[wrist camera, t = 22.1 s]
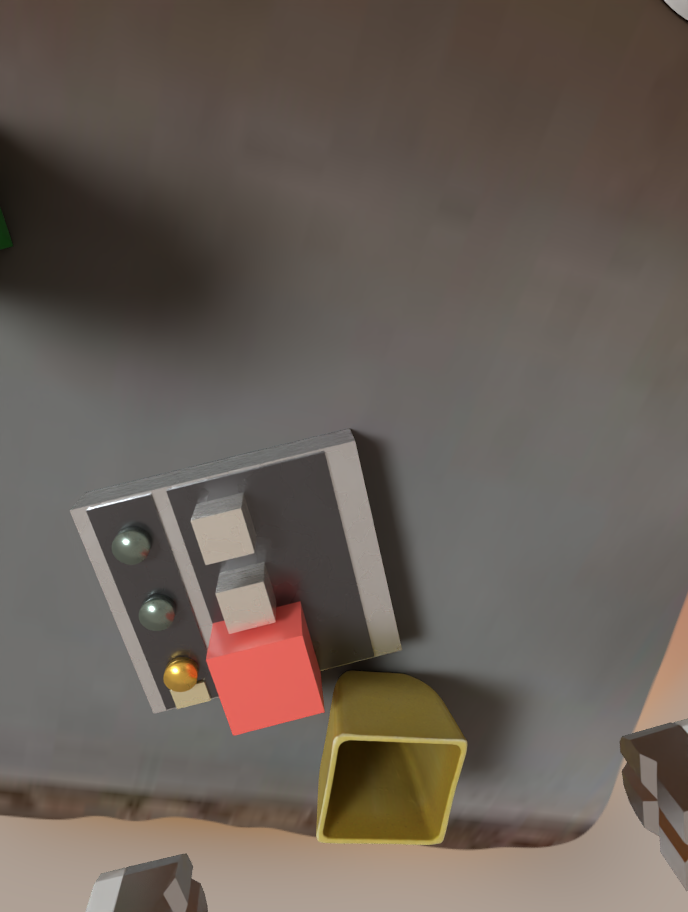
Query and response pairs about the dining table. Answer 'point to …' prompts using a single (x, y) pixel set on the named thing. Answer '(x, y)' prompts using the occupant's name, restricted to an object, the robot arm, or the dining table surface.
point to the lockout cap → (266, 671)
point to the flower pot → (387, 762)
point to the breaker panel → (239, 560)
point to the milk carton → (4, 234)
